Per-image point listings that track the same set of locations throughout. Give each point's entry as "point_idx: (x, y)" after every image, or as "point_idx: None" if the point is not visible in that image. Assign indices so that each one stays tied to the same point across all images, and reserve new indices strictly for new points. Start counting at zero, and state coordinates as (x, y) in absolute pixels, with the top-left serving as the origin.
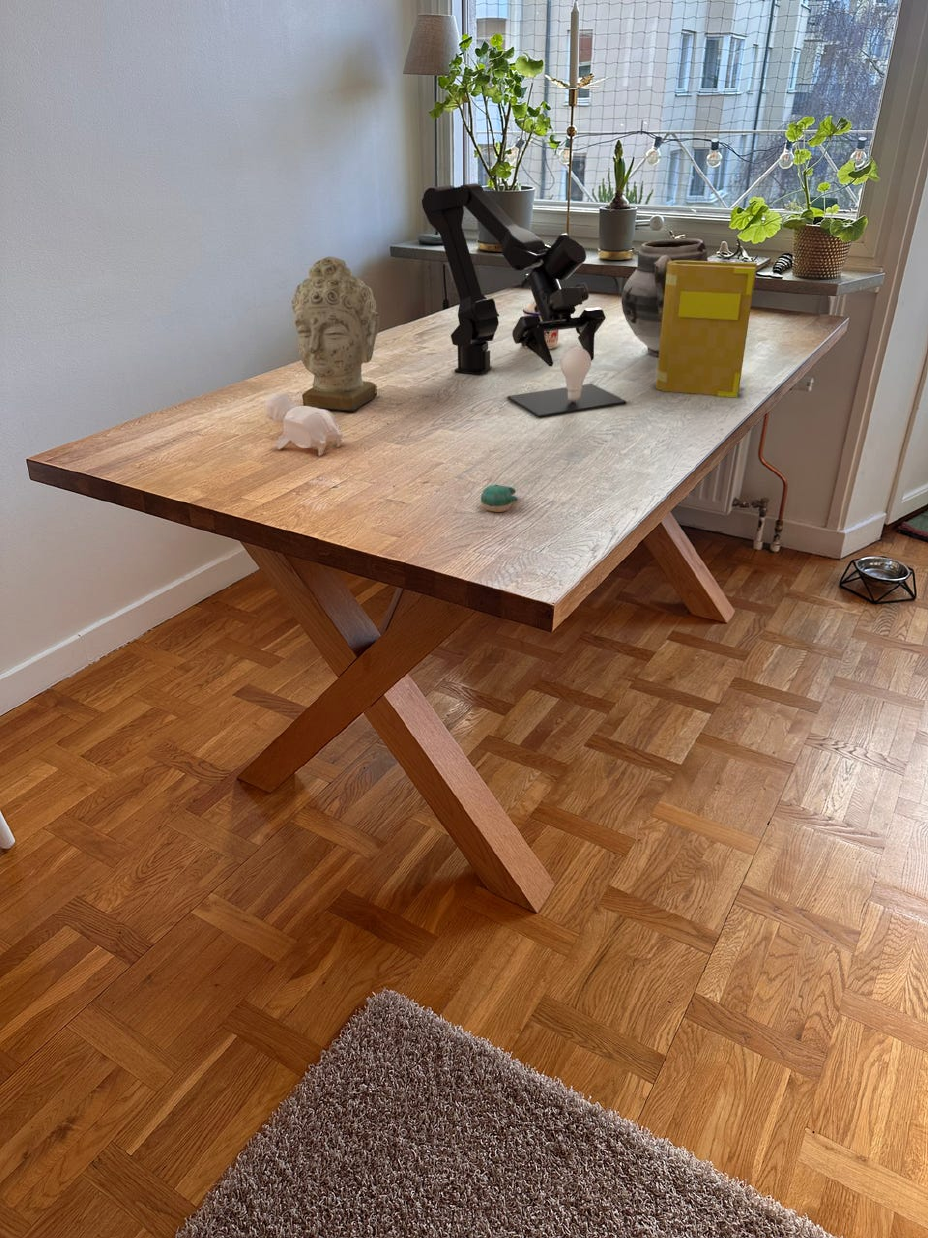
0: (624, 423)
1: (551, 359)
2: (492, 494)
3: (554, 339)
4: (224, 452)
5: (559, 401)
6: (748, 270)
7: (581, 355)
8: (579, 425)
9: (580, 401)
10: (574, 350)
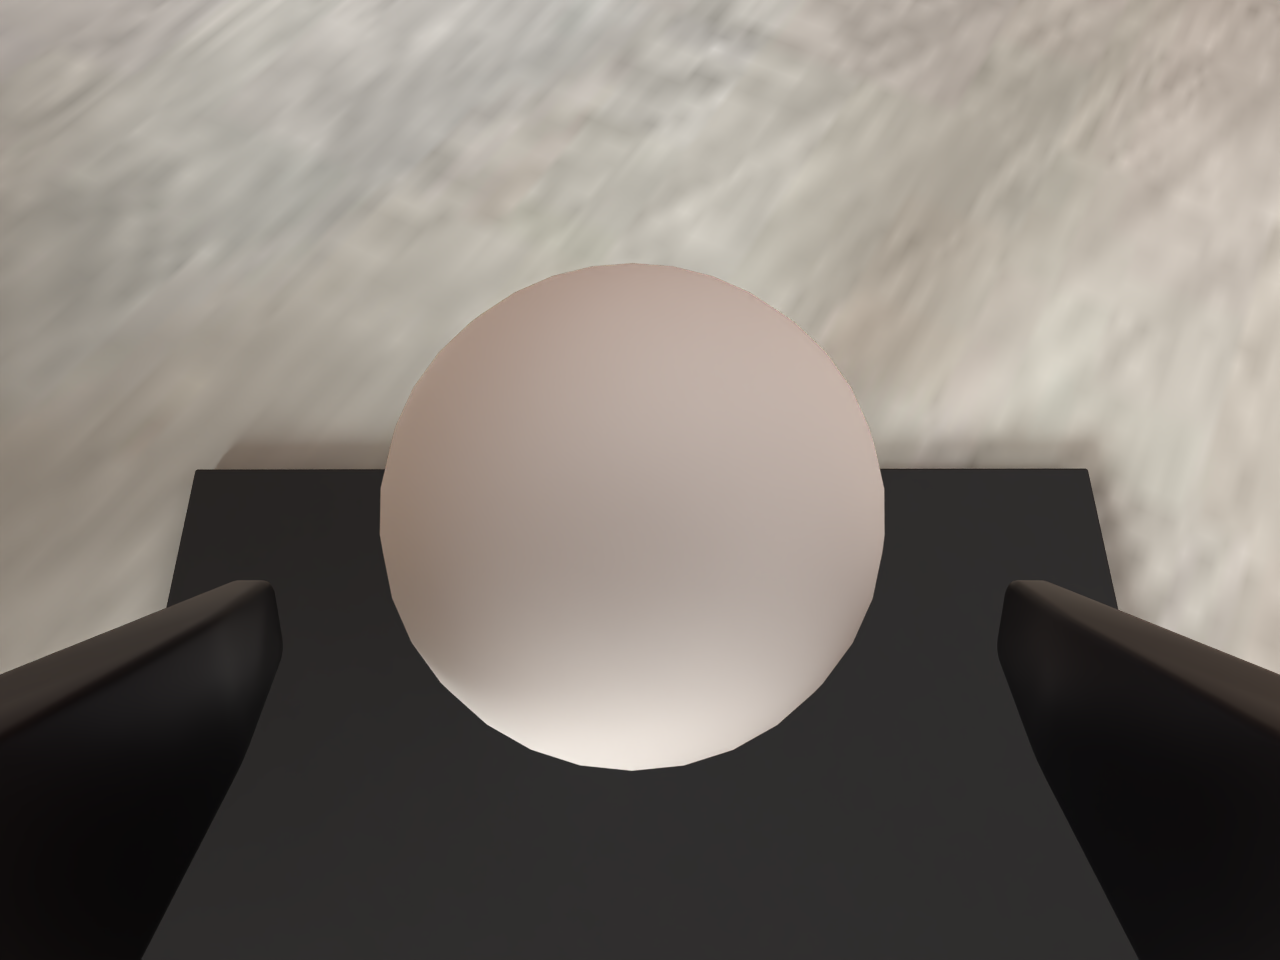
0: (530, 135)
1: (1057, 598)
2: None
3: None
4: None
5: (752, 740)
6: None
7: (641, 266)
8: (839, 217)
9: None
10: (723, 329)
